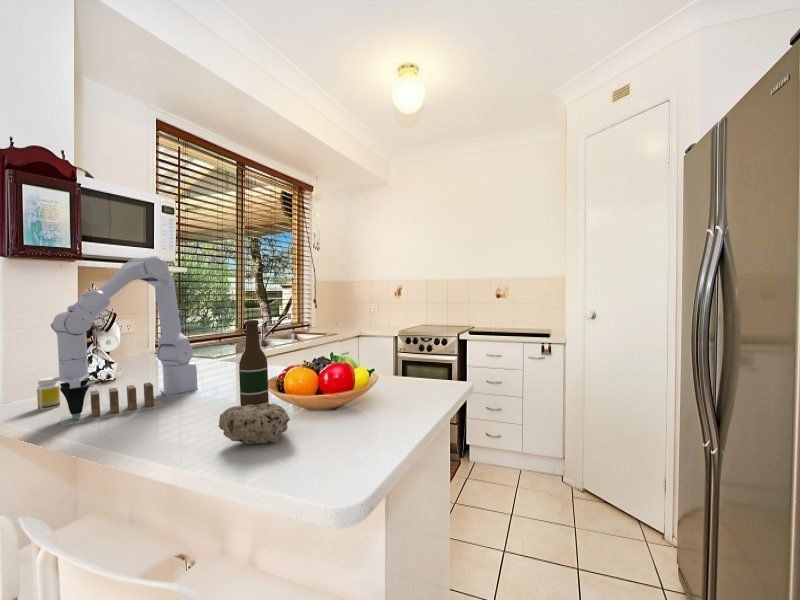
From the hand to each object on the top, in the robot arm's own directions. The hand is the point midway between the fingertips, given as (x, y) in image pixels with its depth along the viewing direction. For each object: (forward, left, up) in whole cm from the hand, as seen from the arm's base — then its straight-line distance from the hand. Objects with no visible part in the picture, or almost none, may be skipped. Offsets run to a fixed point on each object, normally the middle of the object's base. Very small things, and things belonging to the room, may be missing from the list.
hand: (75, 411), depth 101 cm
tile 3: (-8, 0, -2) cm, 8 cm away
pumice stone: (-28, +47, -2) cm, 55 cm away
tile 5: (0, 0, -2) cm, 2 cm away
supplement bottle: (+6, -19, -2) cm, 20 cm away
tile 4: (-4, 0, -2) cm, 4 cm away
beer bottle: (-37, +23, -2) cm, 44 cm away
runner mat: (-8, 0, -2) cm, 8 cm away
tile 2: (-12, 0, -2) cm, 12 cm away
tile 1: (-16, 0, -2) cm, 16 cm away
